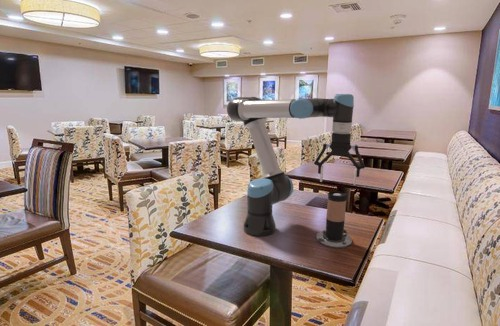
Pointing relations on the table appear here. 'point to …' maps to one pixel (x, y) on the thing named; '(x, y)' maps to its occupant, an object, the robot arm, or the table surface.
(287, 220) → the table surface
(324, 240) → the fitting
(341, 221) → the travel mug
